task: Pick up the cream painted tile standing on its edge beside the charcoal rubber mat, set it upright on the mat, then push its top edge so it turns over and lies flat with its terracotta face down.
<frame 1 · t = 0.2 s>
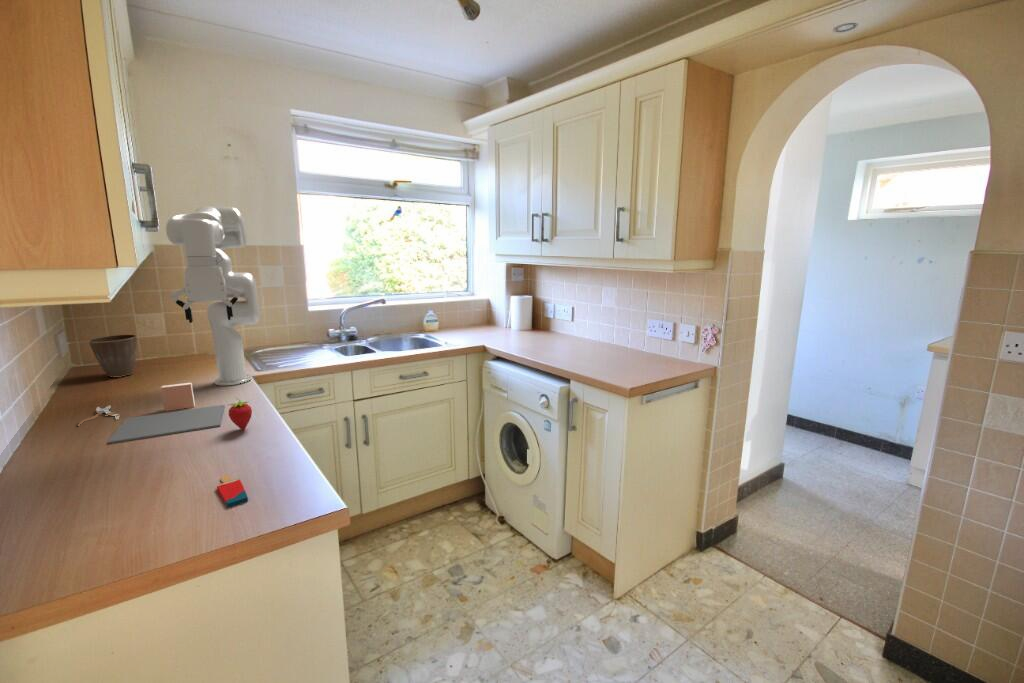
hand: (210, 320, 138), 31 cm above the worktop, tool pointing down, fingers open, 9 cm apart
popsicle: (231, 493, 102), on the worktop
mat: (172, 423, 140), on the worktop
tile: (180, 408, 153), on the worktop
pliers: (101, 417, 146), on the worktop
strawberry: (242, 430, 135), on the worktop
plant pot: (120, 376, 192), on the worktop
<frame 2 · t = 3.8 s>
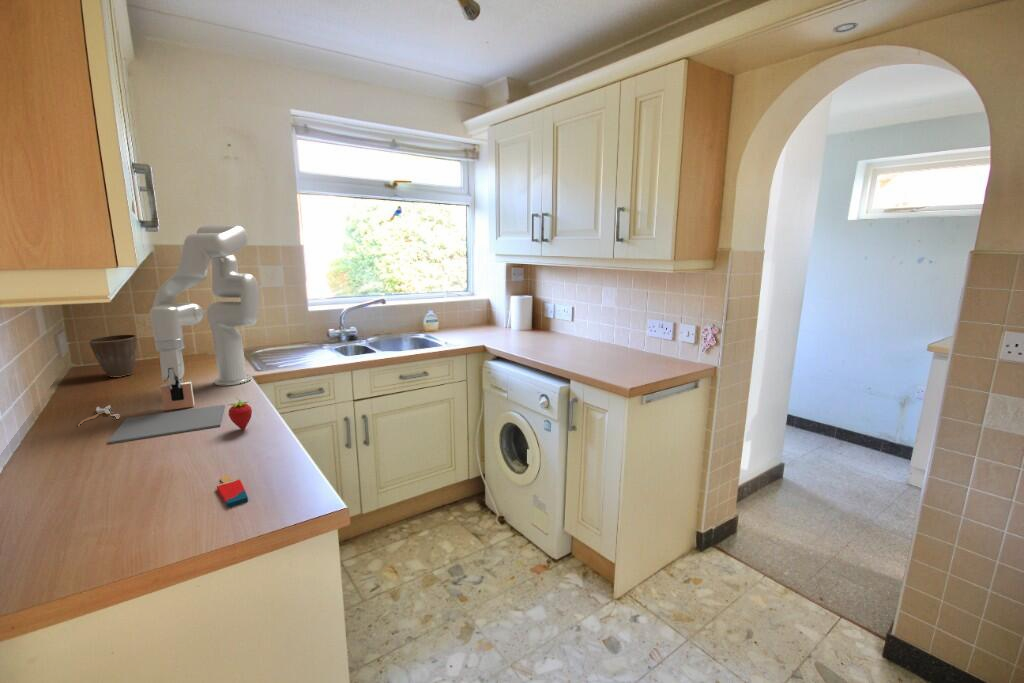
hand: (178, 398, 153), 3 cm above the worktop, tool pointing down, fingers closed on tile, 2 cm apart
tile: (179, 407, 153), on the worktop, touching gripper
everything else where it was.
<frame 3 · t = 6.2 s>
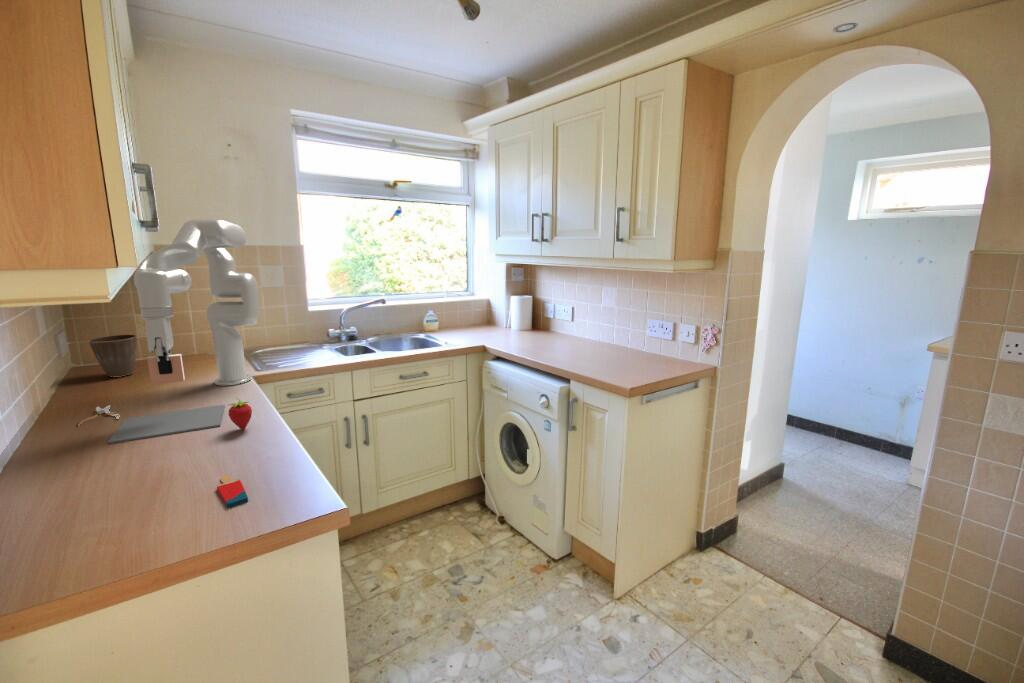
hand: (167, 372, 141), 15 cm above the worktop, tool pointing down, fingers closed on tile
tile: (168, 381, 141), point 12 cm above the worktop, touching gripper
everything else where it was.
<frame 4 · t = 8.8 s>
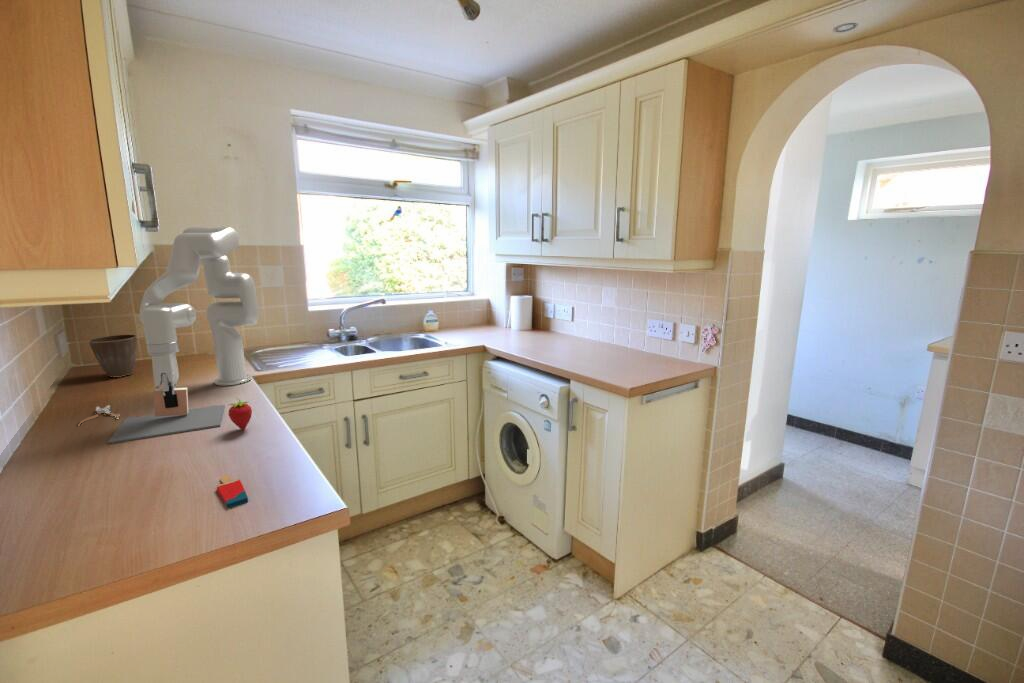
hand: (172, 405, 143), 4 cm above the worktop, tool pointing down, fingers closed on tile, 1 cm apart
tile: (172, 414, 143), point 2 cm above the worktop, tilted 5°, touching gripper
everything else where it was.
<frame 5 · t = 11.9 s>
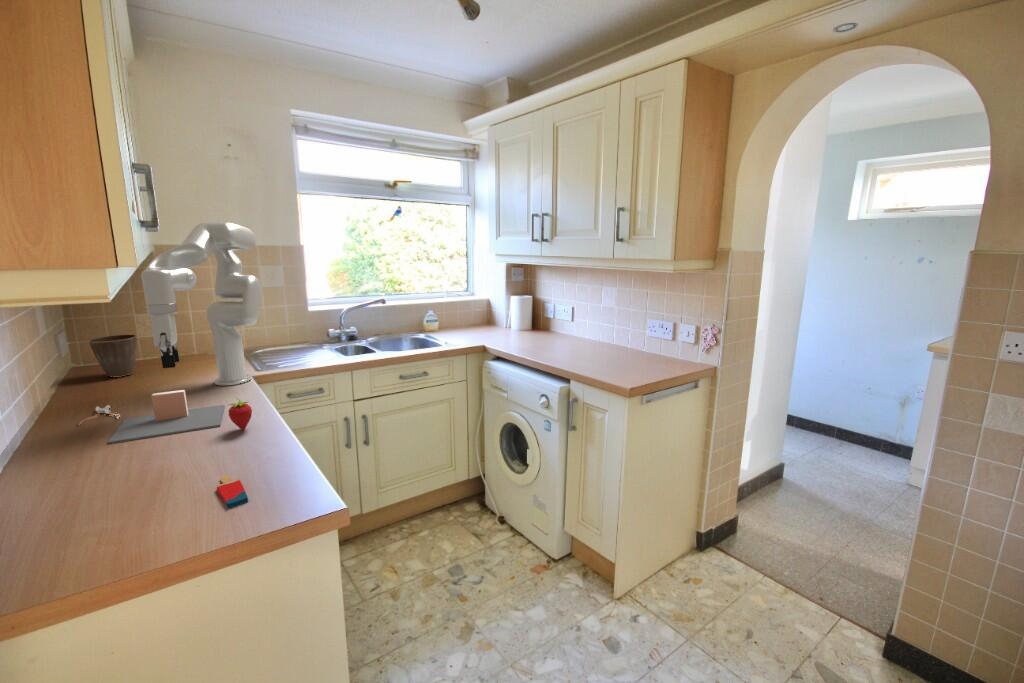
hand: (171, 364, 147), 16 cm above the worktop, tool pointing down, fingers open, 6 cm apart
tile: (172, 417, 143), point 1 cm above the worktop, touching mat
everything else where it was.
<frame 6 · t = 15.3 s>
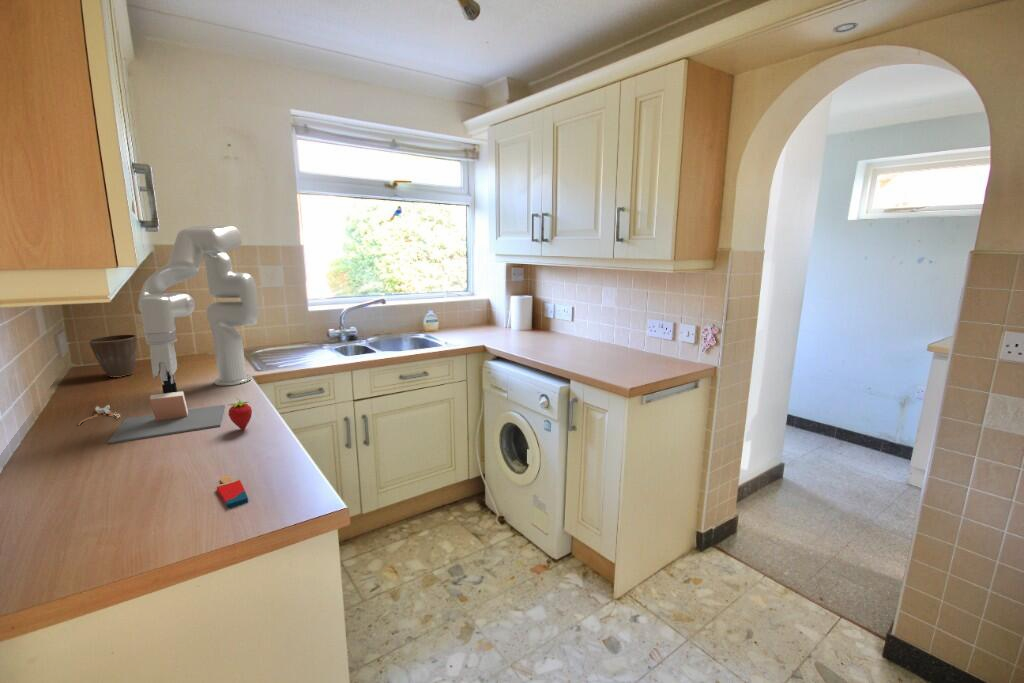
hand: (170, 395, 142), 7 cm above the worktop, tool pointing down, fingers closed
tile: (172, 416, 143), point 1 cm above the worktop, tilted 20°, touching mat
everything else where it was.
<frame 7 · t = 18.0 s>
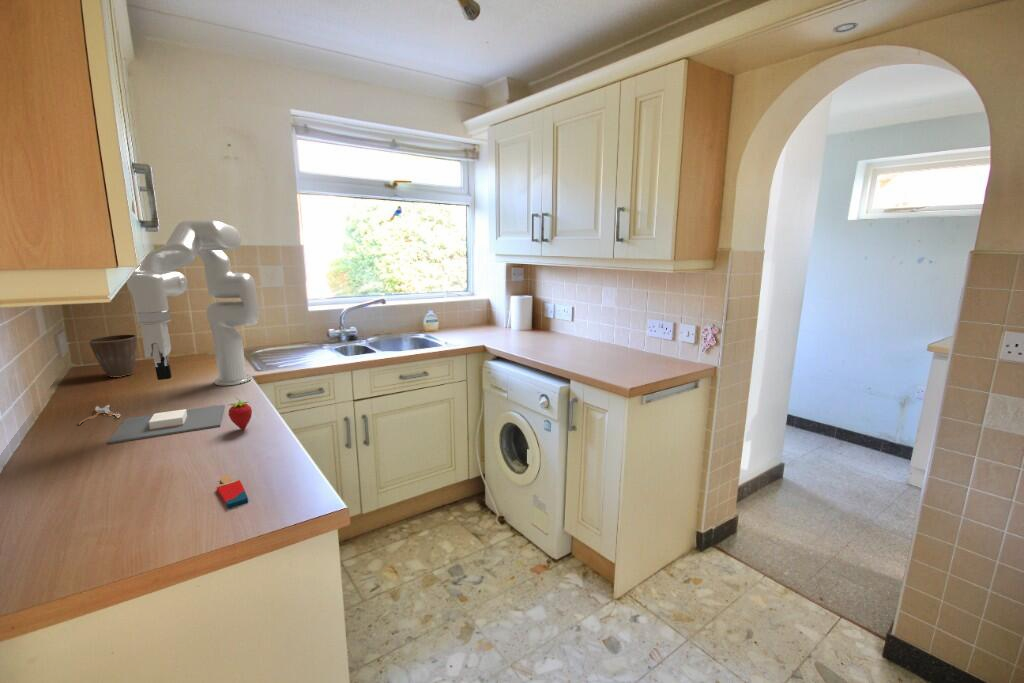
hand: (164, 378, 136), 14 cm above the worktop, tool pointing down, fingers closed
tile: (171, 414, 142), point 2 cm above the worktop, tilted 90°, touching mat
everything else where it was.
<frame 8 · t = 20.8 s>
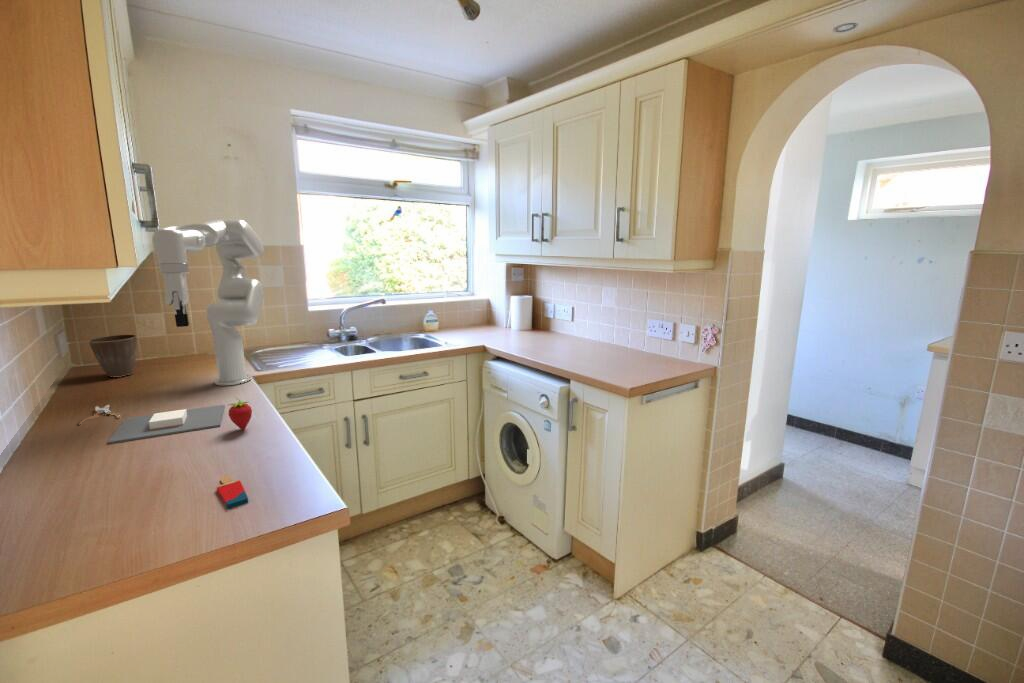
hand: (182, 326, 150), 27 cm above the worktop, tool pointing down, fingers closed
nothing on the worktop moved.
at the end: tile tilted 90°; tile inside the target area on the mat (3.3 cm from its centre), point 1.8 cm above the mat's base; tile touching mat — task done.
